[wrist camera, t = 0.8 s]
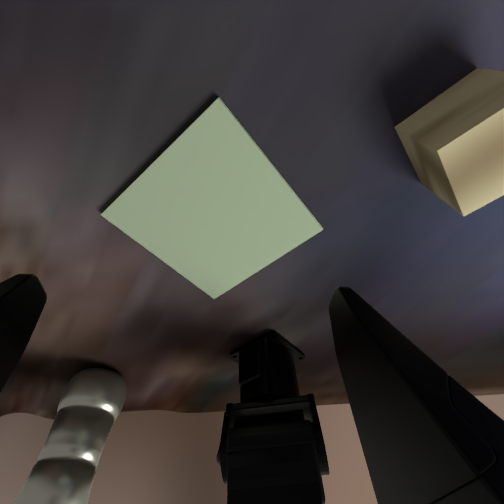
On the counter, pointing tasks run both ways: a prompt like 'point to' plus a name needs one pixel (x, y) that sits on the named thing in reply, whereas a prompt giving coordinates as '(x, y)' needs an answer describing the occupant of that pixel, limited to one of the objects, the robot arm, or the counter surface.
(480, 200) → the beech block
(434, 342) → the counter surface
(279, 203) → the sage mat
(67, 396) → the silver ribbed metal bottle
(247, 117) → the counter surface
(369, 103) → the counter surface
